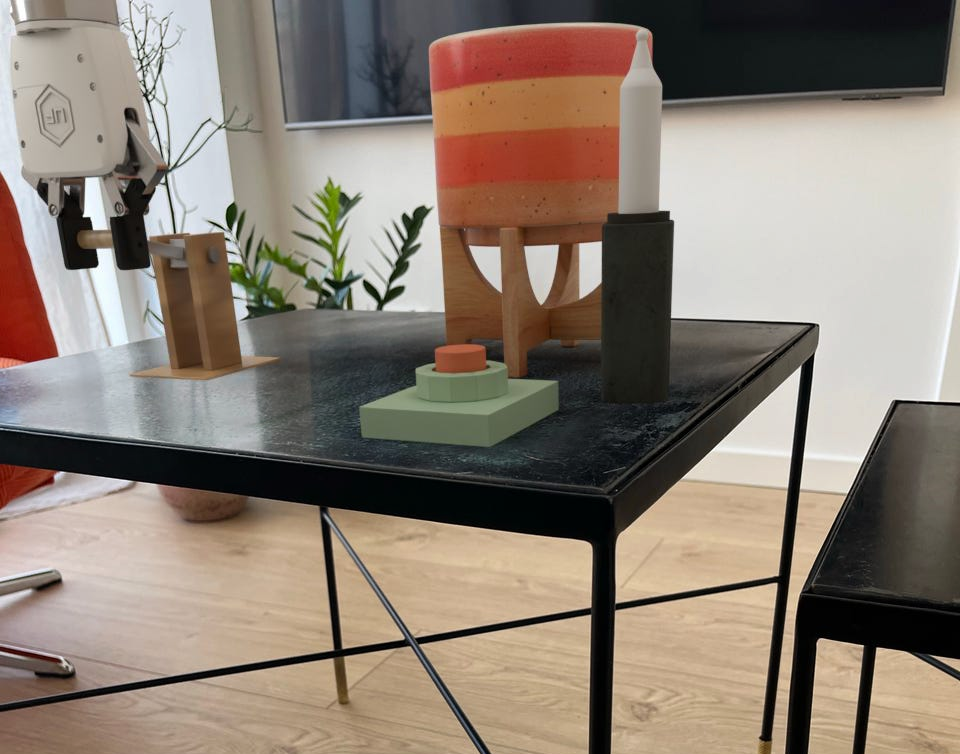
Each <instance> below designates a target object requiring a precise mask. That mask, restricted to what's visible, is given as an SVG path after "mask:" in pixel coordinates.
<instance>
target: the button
mask: <svg viewBox="0 0 960 754" xmlns="http://www.w3.org/2000/svg"><path fill="white" fill-rule="evenodd" d="M434 359H435V361H434V363H436V372H439V373H470V372H477V371H483V370H486V361H487V350H486V346H484V345H481V344H473V343H472V344H462V345H449V346H447V345H444V346H439V347H437V348H435V349H434Z"/></svg>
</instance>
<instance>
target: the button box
mask: <svg viewBox="0 0 960 754" xmlns="http://www.w3.org/2000/svg"><path fill="white" fill-rule="evenodd" d="M559 404H560V403H559V381H558V380H547V379H546V380H545V379H525V378H523V379H521V378H508V368H507V366H506V364H505V363H504V362H499V361H494V360H486V370H483V371H477V372H470V373H439V372H436V362H433V363H428V364H424V365H422V366H419V367H416V368H415V385H413V386H410V387H408V388H405V389H402V390H400V391H397V392H395V393H392V394H389V395H387V396H384V397H382V398H379V399H376V400H373V401H370V402H369V403H366V404H363V405H360V406H358V409H359V410H358V411H359V418H360V419H359V420H360V421H359V422H360V429H361V430H360V431H361V438H363V439H379V440H390V441H391V440H392V441H405V442H415V443H432V444H444V445H457V446H471V447H484V448H491V447H493V446H495V445H496V444H498V443H500V442H502V441H504V440H506V439H508V438H509V437H511V436H514V435H515V434H516V433H518V432H520V431H523V430H524V429H526V428H528V427H529V426H532V425H534V424H536V423H537V422H539V421H541V420H543V419H544V418H546V417H548V416H550V415H552V414H554V413H556V412H557V411H559V409H560V408H559Z"/></svg>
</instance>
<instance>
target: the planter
mask: <svg viewBox="0 0 960 754" xmlns="http://www.w3.org/2000/svg"><path fill="white" fill-rule="evenodd" d="M640 29H645V30H646V31H647V33H648V38H647V45H648V49H649V53H650V57H651V61H652V62H653V44H654V43H653V39H654V38H653V33H652V32H651V31H650V30H649V29H648V28H645V27H642V26H639V25H634V24H627V23H615V22H554V23H553V22H551V23H536V24H535V23H533V24H521V25H520V24H519V25H510V26H499V27H491V28H483V29H477V30H469V31H463V32H459V33H455V34H450V35H447V36H443V37H440V38H438V39H436V40H434V41H433V42H431V43H430V45H429V46H428V64H429V65H428V66H429V67H428V68H429V89H430V100H431V114H432V116H431V117H432V130H433V146H434V147H433V148H434V149H433V150H434V166H435V188H436V189H435V191H436V205H437V216H438V217H437V219H438V225H439V239H440V252H441V269H442V270H441V271H442V285H443V286H442V287H443V288H442V289H443V304H444V320H445V321H444V322H445V337H446V338H445V339H446V341H445V342H446V346H449V345H462V344H472V345H473V340H502V341H503V363H505V364H506V366H507V368H508V379H521V378H524V377H525V376H527V375H528V352H529V351H530V350H533V349H534V348H536V347H538V346H540V345H542V344H544V343H546V342H547V341H550V340H551V341H552V340H553V341H560V346H561V347H564V348H565V347H569V348H570V347H571V348H574V347H576V346H578V345H580V341H601V287H602V281H600V283H599V284H598V285H597V286H596V287H595V288H594V289H593V290H592V291H591V292H589V293H588V294H586V295H585V296H583V297H582V298H580V244H589V243H600V242H601V243H602V225H603V224H605V223H607V214H608V213H618V212H619V132H620V87H621V85H622V83H623V81H624V79H625V77H626V76H627V74H628V72H629V70H630V67H631V63H632V60H633V56H634V52H635V49H636V45H637V39H636V34H637V32H638V31H639V30H640ZM470 246H471V247H483V248H487V247H488V248H490V247H491V248H494V247H495V248H499V251H500V279H501V281H500V282H501V291H499V290H498V289H497V288H496V287H495V286H494V285H493V284H492V283H491V282H490V281H489V280H488V279H487V278H486V277H485V275H484V274H483V272H482V271H481V270H480V268H479V266H478V264H477V262H476V260H475V258H474V256H473V253H472V251H471V247H470ZM542 246H543V247H544V246H558V247H557V248H558V249H557V258H556V264H555V270H554V275H553V279H552V283H551V286H550V289H549V291H548V294H547V297H546V298H545V299H544V301H543V302H542V304H541V303H540V302H539V301H538V299H537V297H536V294H535V292H534V289H533V285H532V282H531V279H530V273H529V269H528V264H527V257H526V248H525V247H542Z"/></svg>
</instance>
